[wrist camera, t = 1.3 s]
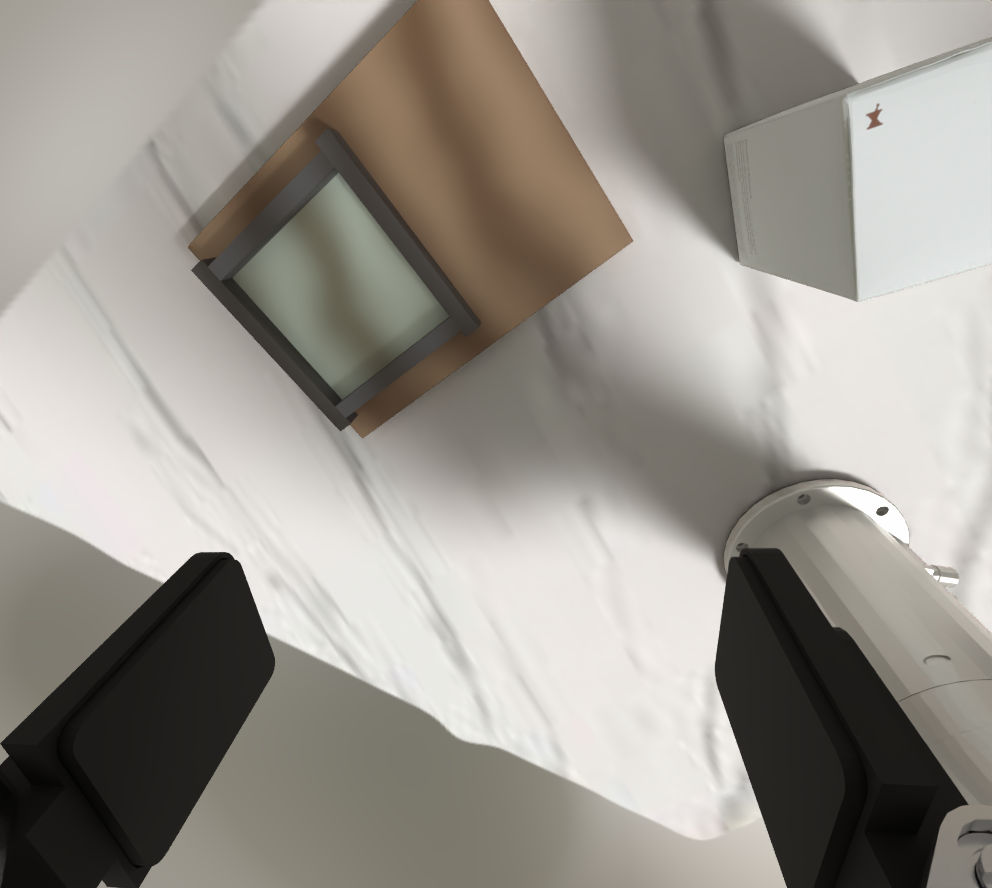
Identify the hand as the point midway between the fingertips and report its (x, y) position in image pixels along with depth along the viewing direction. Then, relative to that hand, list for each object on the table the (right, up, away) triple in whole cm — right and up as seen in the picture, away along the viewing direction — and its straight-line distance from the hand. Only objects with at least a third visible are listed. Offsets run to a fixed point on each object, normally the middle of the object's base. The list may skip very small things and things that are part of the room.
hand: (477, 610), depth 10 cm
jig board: (-5, +16, +22) cm, 27 cm away
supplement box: (+17, +18, +19) cm, 31 cm away
